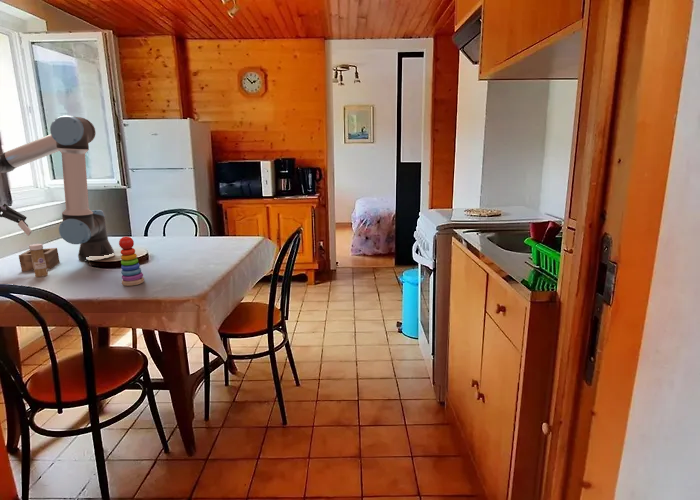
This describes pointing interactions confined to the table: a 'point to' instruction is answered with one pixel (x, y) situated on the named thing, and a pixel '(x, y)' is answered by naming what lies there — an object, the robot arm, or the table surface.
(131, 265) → the stacking toy
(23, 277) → the table surface
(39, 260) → the sprinkles bottle
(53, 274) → the table surface
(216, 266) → the table surface
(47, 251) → the walnut socket block
